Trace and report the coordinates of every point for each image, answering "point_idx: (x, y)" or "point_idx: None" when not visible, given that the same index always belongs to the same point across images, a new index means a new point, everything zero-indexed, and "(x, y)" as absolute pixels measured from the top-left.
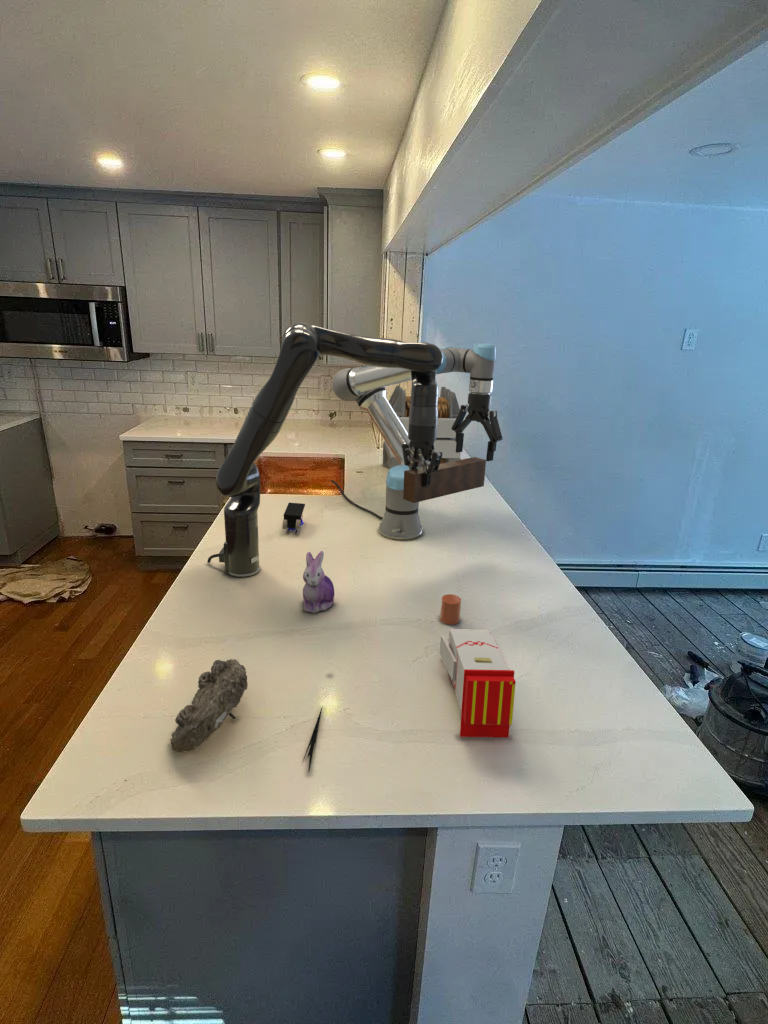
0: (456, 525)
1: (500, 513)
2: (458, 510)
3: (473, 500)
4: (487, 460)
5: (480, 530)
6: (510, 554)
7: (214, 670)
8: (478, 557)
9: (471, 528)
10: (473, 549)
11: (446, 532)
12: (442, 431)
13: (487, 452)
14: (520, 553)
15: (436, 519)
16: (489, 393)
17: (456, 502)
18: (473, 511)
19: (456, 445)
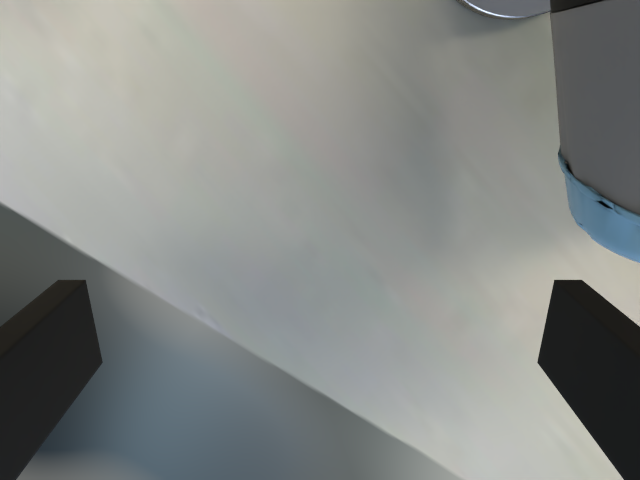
0: (410, 194)
1: (385, 410)
2: (508, 319)
3: (533, 433)
4: (58, 284)
5: (317, 231)
6: (88, 140)
7: None
8: (122, 3)
9: (352, 218)
10: (193, 53)
11: (385, 99)
12: None
13: (6, 338)
14: (79, 179)
15: (508, 176)
16: None
17: None
18: (462, 354)
19: (632, 326)
